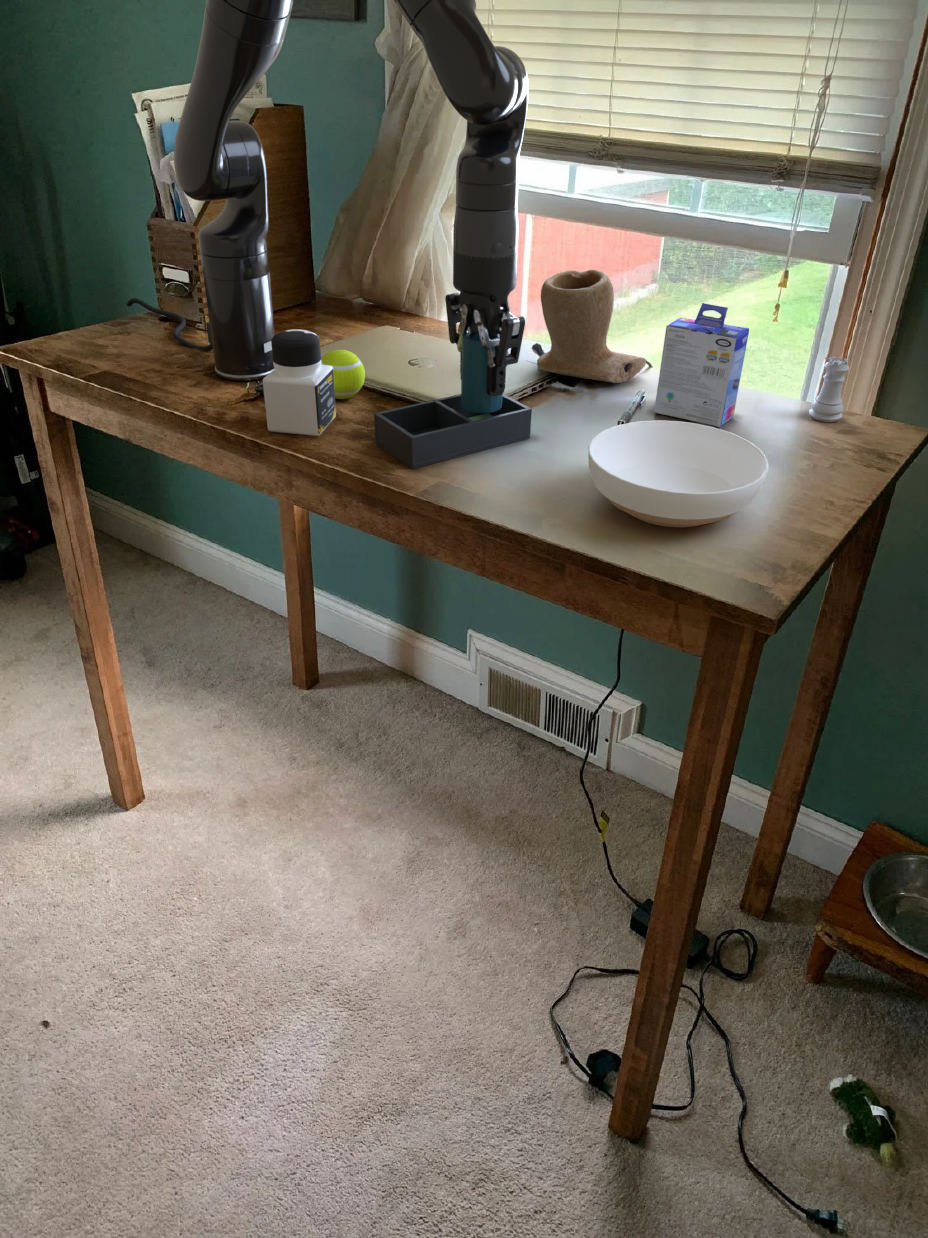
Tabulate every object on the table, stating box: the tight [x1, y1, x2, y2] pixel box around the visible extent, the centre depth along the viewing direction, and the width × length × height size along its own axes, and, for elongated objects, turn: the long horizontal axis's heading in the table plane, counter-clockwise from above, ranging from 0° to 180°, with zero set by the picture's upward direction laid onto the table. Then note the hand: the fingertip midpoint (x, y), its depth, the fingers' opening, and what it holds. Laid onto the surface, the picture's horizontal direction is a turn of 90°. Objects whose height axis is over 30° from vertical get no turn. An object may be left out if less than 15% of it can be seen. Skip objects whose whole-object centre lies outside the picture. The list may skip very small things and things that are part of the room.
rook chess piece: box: [808, 356, 851, 423], centre depth 127 cm, size 4×4×8 cm
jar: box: [460, 332, 504, 413], centre depth 118 cm, size 5×5×9 cm
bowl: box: [587, 420, 770, 528], centre depth 105 cm, size 20×20×6 cm
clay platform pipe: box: [536, 269, 647, 384], centre depth 138 cm, size 15×12×15 cm
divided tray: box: [373, 393, 533, 470], centre depth 120 cm, size 9×18×4 cm, turn 124°
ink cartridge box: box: [653, 302, 750, 428], centre depth 125 cm, size 10×6×14 cm, turn 58°
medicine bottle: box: [262, 328, 337, 437], centre depth 121 cm, size 7×7×12 cm
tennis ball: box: [321, 348, 366, 400], centre depth 131 cm, size 7×7×7 cm
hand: (481, 386), depth 119 cm, fingers closed on jar, 5 cm apart
